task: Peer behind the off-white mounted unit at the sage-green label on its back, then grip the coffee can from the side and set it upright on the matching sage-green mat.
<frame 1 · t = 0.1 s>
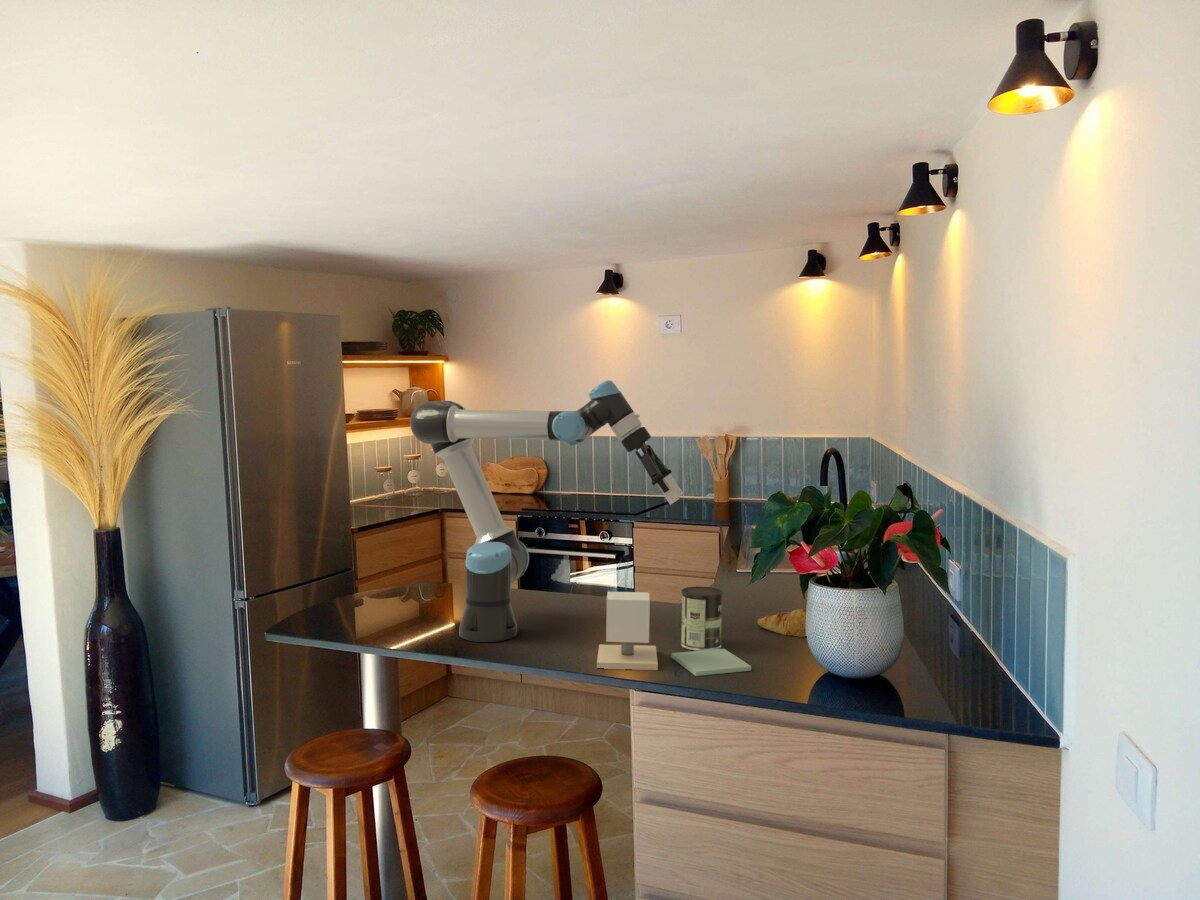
hand: (677, 499, 219), 36 cm above the kitchen counter, tool tilted 35°, fingers open, 13 cm apart
coffee can: (700, 646, 210), on the kitchen counter
sage mat: (710, 663, 196), on the kitchen counter
mounted unit: (627, 659, 198), on the kitchen counter
croissant: (796, 633, 223), on the kitchen counter
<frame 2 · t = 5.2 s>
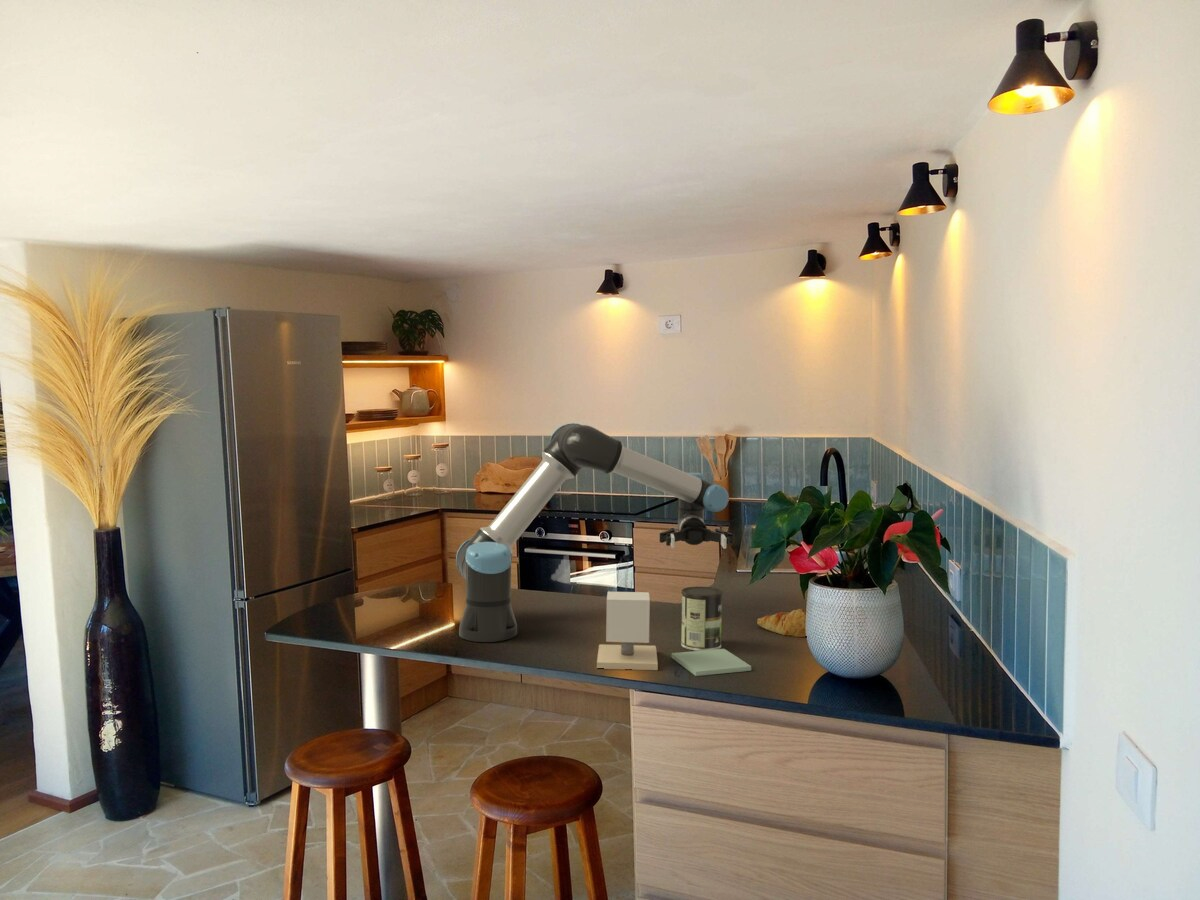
hand: (699, 543, 218), 25 cm above the kitchen counter, tool horizontal, fingers open, 13 cm apart
nothing on the kitchen counter moved.
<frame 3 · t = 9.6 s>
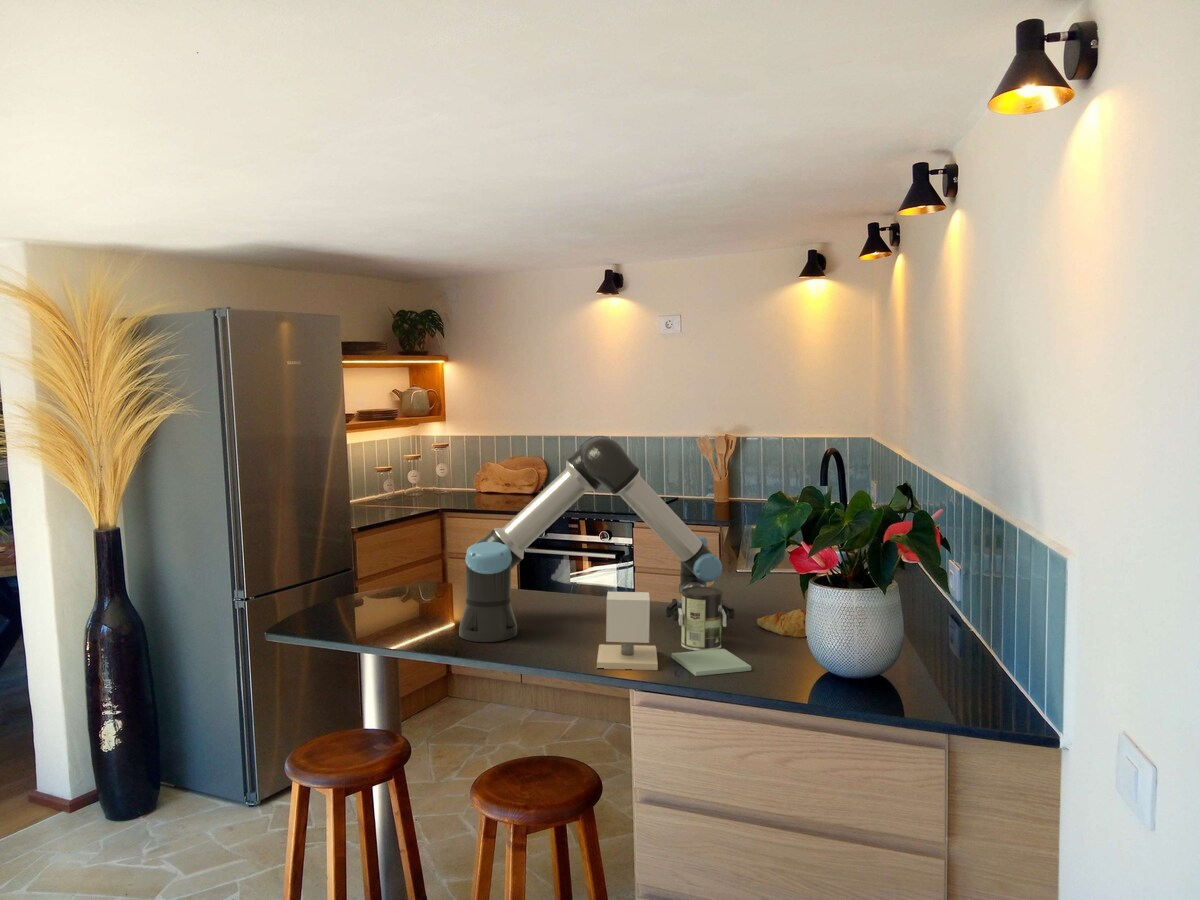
hand: (702, 620, 205), 7 cm above the kitchen counter, tool horizontal, fingers closed on coffee can, 10 cm apart
coffee can: (700, 646, 210), on the kitchen counter, touching gripper
everything else where it was.
when the fingers open (10 cm above the kitchen counter, at t = 15.4 s): coffee can drops 1 cm, resting on sage mat.
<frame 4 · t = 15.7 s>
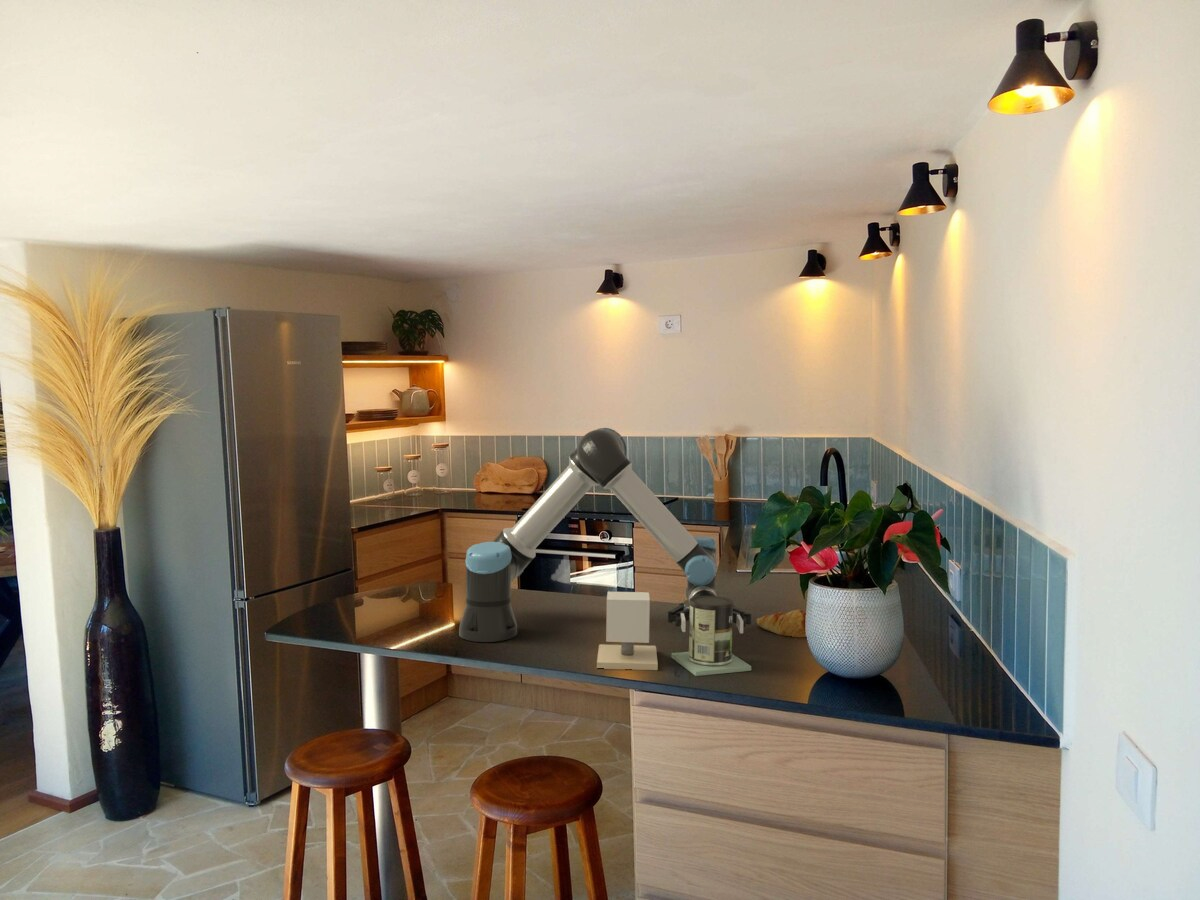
hand: (712, 626, 192), 10 cm above the kitchen counter, tool horizontal, fingers open, 13 cm apart
coffee can: (709, 660, 196), point 1 cm above the kitchen counter, touching sage mat
everything else where it was.
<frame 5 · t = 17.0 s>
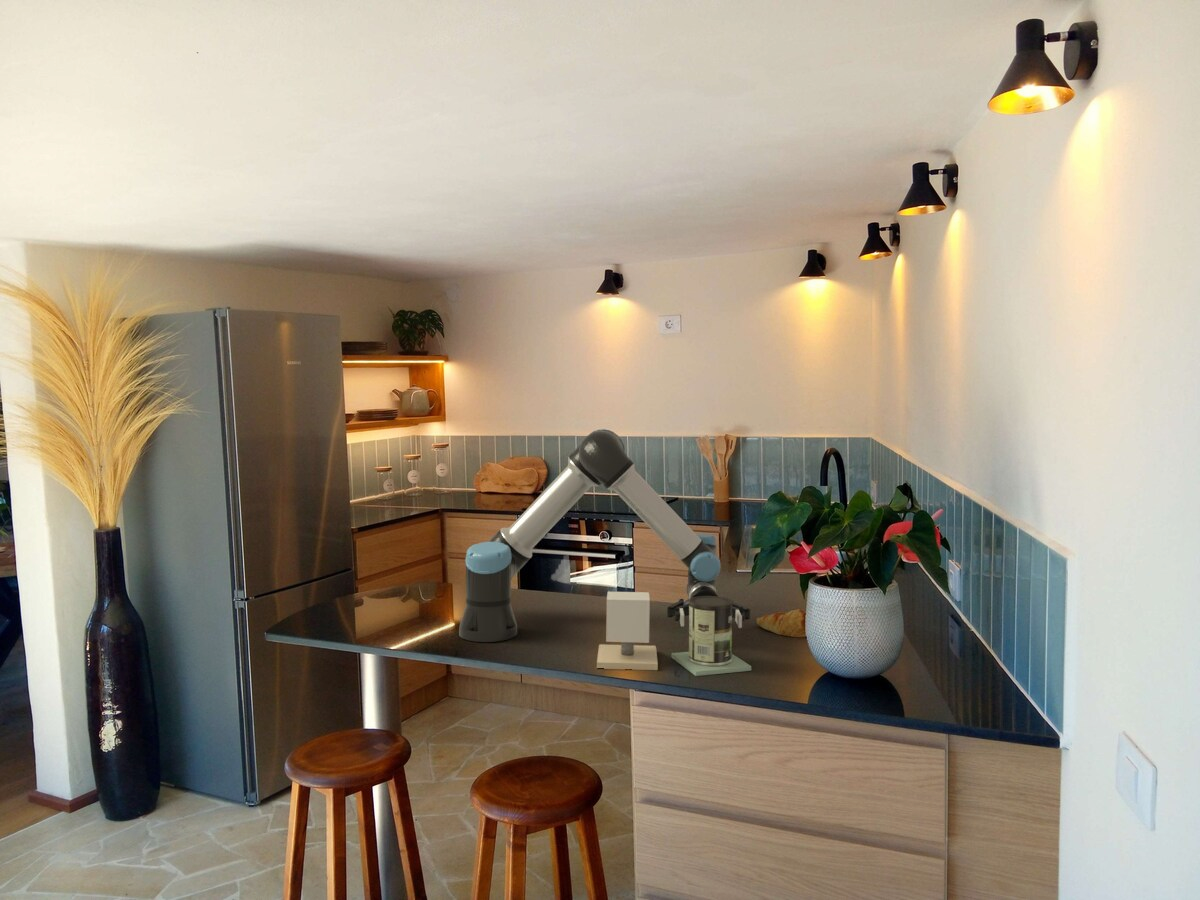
hand: (711, 621, 196), 10 cm above the kitchen counter, tool horizontal, fingers open, 13 cm apart
nothing on the kitchen counter moved.
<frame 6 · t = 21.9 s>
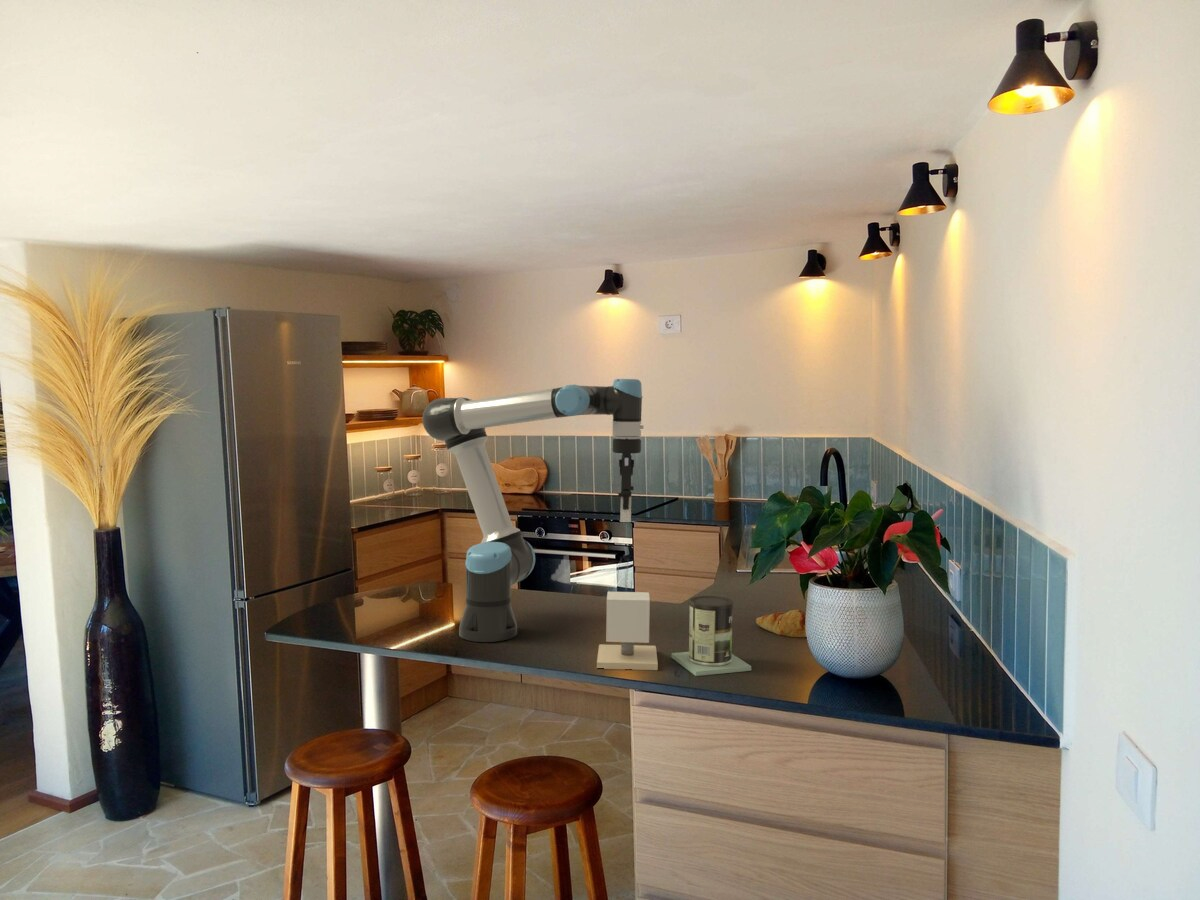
hand: (625, 518, 219), 31 cm above the kitchen counter, tool pointing down, fingers open, 13 cm apart
at the end: coffee can inside the target area on the sage mat (0.2 cm from its centre), point 0.8 cm above the sage mat's base; coffee can tilted 0°; the gripper is holding nothing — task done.
